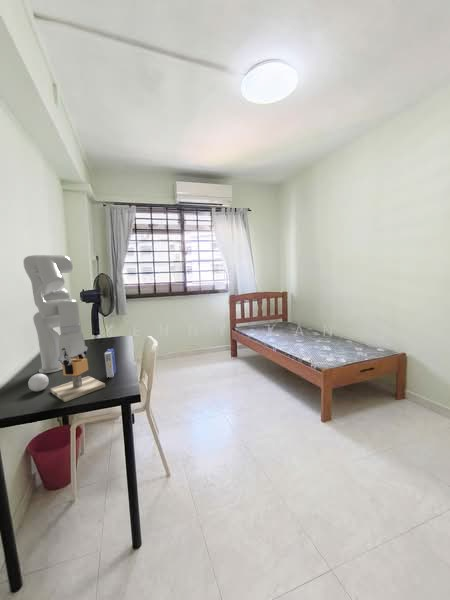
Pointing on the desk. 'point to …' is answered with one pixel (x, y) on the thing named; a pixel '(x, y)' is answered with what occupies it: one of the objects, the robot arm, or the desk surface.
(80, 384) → the board
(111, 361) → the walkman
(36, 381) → the white egg
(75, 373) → the orange block
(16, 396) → the desk surface
